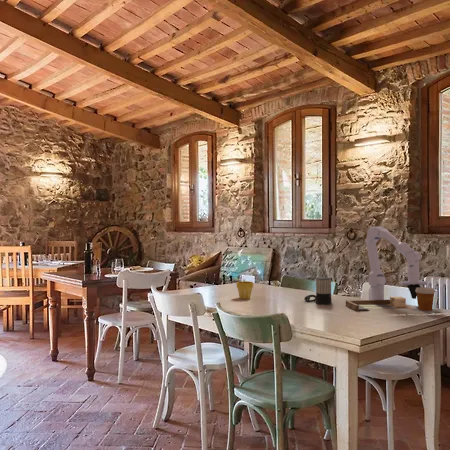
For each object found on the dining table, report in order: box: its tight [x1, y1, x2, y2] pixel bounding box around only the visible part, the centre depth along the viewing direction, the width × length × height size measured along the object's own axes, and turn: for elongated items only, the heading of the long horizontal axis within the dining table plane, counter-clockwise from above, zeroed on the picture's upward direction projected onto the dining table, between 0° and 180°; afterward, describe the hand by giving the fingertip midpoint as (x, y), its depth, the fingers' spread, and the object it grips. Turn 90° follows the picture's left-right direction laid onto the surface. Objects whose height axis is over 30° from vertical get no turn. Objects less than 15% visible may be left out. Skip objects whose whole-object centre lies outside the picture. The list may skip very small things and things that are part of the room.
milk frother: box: [304, 276, 333, 306], centre depth 262 cm, size 14×16×15 cm
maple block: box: [389, 296, 407, 307], centre depth 244 cm, size 6×6×4 cm
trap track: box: [345, 299, 415, 312], centre depth 244 cm, size 16×32×3 cm, turn 95°
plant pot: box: [236, 280, 254, 300], centre depth 281 cm, size 10×10×10 cm
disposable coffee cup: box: [415, 286, 436, 312], centre depth 233 cm, size 10×10×12 cm
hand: (413, 298), depth 245 cm, fingers closed
